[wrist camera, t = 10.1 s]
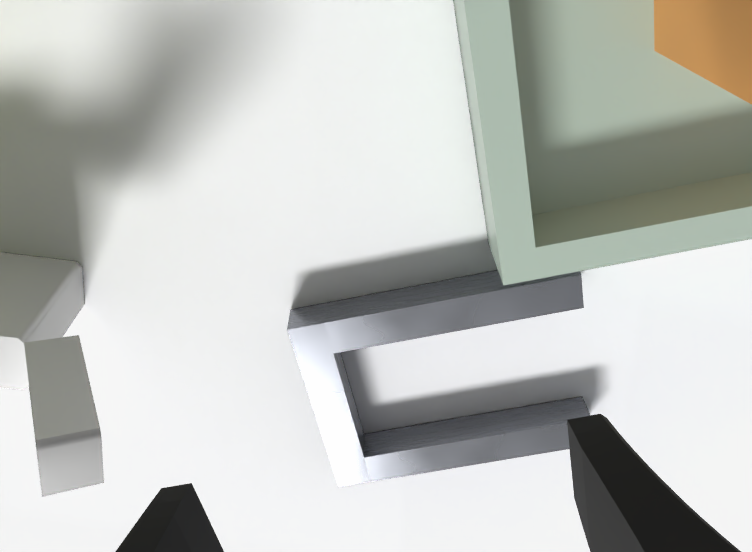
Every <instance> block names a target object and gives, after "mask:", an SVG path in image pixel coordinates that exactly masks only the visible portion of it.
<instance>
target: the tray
mask: <svg viewBox="0 0 752 552" xmlns="http://www.w3.org/2000/svg"><path fill="white" fill-rule="evenodd" d="M453 3H454V10H455V16H456V23H457V30H458V37H459V44H460V51H461V58H462V64H463V71H464V78H465V85H466V92H467V99H468V106H469V113H470V119H471V126H472V133H473V140H474V147H475V154H476V161H477V167H478V174H479V181H480V188H481V195H482V202H483V209H484V215H485V222H486V229H487V236H488V243H489V246H490V249H491V252H492V255H493V258H494V260H495V263H496V266H497V269H498V272H499V275H500V277H501V280H502V283H503V285H509V284H514V283H519V282H525V281H530V280H535V279H541V278H546V277H551V276H557V275H562V274H567V273H573V272H578V271H583V270H589V269H594V268H599V267H605V266H610V265H615V264H621V263H626V262H631V261H637V260H642V259H647V258H653V257H658V256H663V255H668V254H674V253H679V252H684V251H690V250H695V249H700V248H706V247H711V246H716V245H722V244H727V243H732V242H738V241H743V240H748V239H752V104H750V103H748V102H746V101H744V100H743V99H741V98H739V97H737V96H735V95H733V94H732V93H730V92H728V91H726V90H724V89H723V88H721V87H719V86H717V85H715V84H714V83H712V82H710V81H708V80H706V79H704V78H703V77H701V76H699V75H697V74H695V73H694V72H692V71H690V70H688V69H686V68H685V67H683V66H681V65H679V64H677V63H676V62H674V61H672V60H670V59H668V58H666V57H665V56H663V55H661V54H659V53H657V52H656V51H654V0H453Z"/></svg>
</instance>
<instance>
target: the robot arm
mask: <svg viewBox="0 0 752 552" xmlns="http://www.w3.org/2000/svg"><path fill="white" fill-rule="evenodd" d="M567 426H568V436H569V447H570V457H571V467H572V478H573V488H574V498H575V501H576V505H577V508H578V512H579V515H580V518H581V522H582V525H583V529H584V532H585V535H586V538H587V542H588V545H589V548H590V551H591V552H741V551H740V550H738V549H737V548H736V547H735V546H734V545H732V544H731V543H730V542H729V541H728V540H726V539H725V538H724V537H723V536H722V535H721V534H719V533H718V532H717V531H716V530H715V529H714V528H713V527H711V526H710V525H709V524H708V523H707V522H706V521H705V520H704V519H702V518H701V517H700V516H699V515H698V514H697V513H696V512H695V511H694V510H693V509H692V508H690V507H689V506H688V505H687V504H686V503H685V502H684V501H683V500H682V499H681V498H680V497H679V496H678V495H677V494H676V493H675V492H674V491H673V490H672V489H671V488H670V487H669V486H668V485H667V484H666V483H665V482H664V481H663V480H662V479H661V478H660V477H659V476H658V475H657V474H656V473H655V472H654V471H653V470H652V469H651V468H650V467H649V466H648V465H647V464H646V463H645V462H644V461H643V460H642V458H641V457H640V456H639V455H638V454H637V453H636V452H635V451H634V450H633V449H632V448H631V446H630V445H629V444H628V443H627V442H626V441H625V440H624V438H623V437H622V436H621V435H620V434H619V433H618V431H617V430H616V429H615V428H614V427H613V425H612V424H611V423H610V422H609V420H608V419H607V418H606V417H604V416H603V415H601V414H597V415H591V416H585V417H579V418H574V419H568V420H567ZM116 552H224V551H223V549H222V547H221V545H220V543H219V540H218V538H217V536H216V534H215V532H214V530H213V528H212V526H211V524H210V521H209V519H208V517H207V515H206V513H205V511H204V509H203V507H202V504H201V502H200V500H199V498H198V496H197V494H196V492H195V490H194V488H193V485H192V483H190V484H185V485H179V486H173V487H167V488H161V490H160V491H159V492H158V494H157V495H156V496H155V498H154V499H153V500H152V502H151V503H150V505H149V506H148V507H147V509H146V510H145V512H144V513H143V514H142V516H141V517H140V518H139V520H138V521H137V523H136V524H135V525H134V527H133V528H132V530H131V531H130V532H129V534H128V535H127V537H126V538H125V539H124V541H123V542H122V543H121V545H120V546H119V548H118V549H117V550H116Z"/></svg>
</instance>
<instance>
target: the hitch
mask: <svg viewBox="0 0 752 552" xmlns="http://www.w3.org/2000/svg"><path fill="white" fill-rule="evenodd" d="M580 308H584V306H583V293H582V279H581V274H580V272H579V271H578V272H573V273H567V274H562V275H557V276H551V277H546V278H541V279H535V280H530V281H525V282H519V283H514V284H509V285H503V283H502V280H501V277H500V275H499V272H498V270H497V271H492V272H486V273H481V274H476V275H471V276H465V277H460V278H455V279H450V280H444V281H439V282H434V283H428V284H423V285H418V286H413V287H407V288H402V289H397V290H392V291H386V292H381V293H376V294H370V295H365V296H360V297H355V298H349V299H344V300H339V301H334V302H328V303H323V304H318V305H313V306H307V307H302V308H297V309H291V310H290V316H289V322H288V328H287V331H288V334H289V337H290V340H291V343H292V346H293V349H294V352H295V355H296V358H297V362H298V365H299V368H300V371H301V374H302V377H303V380H304V383H305V386H306V389H307V392H308V395H309V398H310V401H311V404H312V407H313V410H314V413H315V416H316V419H317V422H318V425H319V428H320V431H321V435H322V438H323V441H324V444H325V447H326V450H327V453H328V456H329V459H330V462H331V465H332V468H333V471H334V474H335V477H336V480H337V483H338V486H339V487H342V486H348V485H354V484H360V483H366V482H373V481H379V480H385V479H391V478H397V477H403V476H409V475H415V474H421V473H427V472H433V471H439V470H445V469H451V468H457V467H463V466H469V465H475V464H481V463H487V462H493V461H499V460H505V459H511V458H517V457H523V456H529V455H535V454H541V453H547V452H553V451H559V450H565V449H570V447H569V436H568V426H567V420H568V419H574V418H579V417H585V416H590V414H589V411H588V409H587V407H586V405H585V402H584V400H583V398H582V397H577V398H572V399H566V400H560V401H554V402H548V403H542V404H537V405H531V406H525V407H519V408H513V409H508V410H502V411H496V412H490V413H484V414H479V415H473V416H467V417H461V418H455V419H450V420H444V421H438V422H432V423H426V424H421V425H415V426H409V427H403V428H397V429H391V430H386V431H380V432H374V433H368V434H364V433H363V429H362V426H361V422H360V419H359V415H358V412H357V408H356V405H355V402H354V398H353V395H352V391H351V388H350V384H349V381H348V377H347V374H346V370H345V367H344V363H343V360H342V357H341V353H340V352H345V351H350V350H356V349H361V348H367V347H372V346H378V345H383V344H389V343H394V342H399V341H405V340H410V339H416V338H421V337H427V336H432V335H438V334H443V333H449V332H454V331H460V330H465V329H470V328H476V327H481V326H487V325H492V324H498V323H503V322H509V321H514V320H520V319H525V318H531V317H536V316H541V315H547V314H552V313H558V312H563V311H569V310H574V309H580Z"/></svg>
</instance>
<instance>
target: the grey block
mask: <svg viewBox="0 0 752 552" xmlns="http://www.w3.org/2000/svg"><path fill="white" fill-rule="evenodd" d="M84 304H85V302H84V285H83V269H82V266H81V265H80V264H79V263H78V262H77V261H70V260H61V259H53V258H45V257H36V256H28V255H20V254H11V253H3V252H0V388H8V389H17V390H25V389H26V388H27V387H29V391H30V399H31V407H32V416H33V424H34V432H35V441H36V449H37V457H38V466H39V474H40V483H41V491H42V497H43V496H47V495H52V494H56V493H60V492H65V491H69V490H74V489H78V488H82V487H87V486H91V485H96V484H100V483H104V478H103V459H102V441H101V432H100V426H99V422H98V417H97V413H96V408H95V404H94V400H93V395H92V391H91V387H90V382H89V378H88V373H87V369H86V365H85V360H84V356H83V352H82V347H81V343H80V338H79V335H77V336H69V337H63V335H64V334H65V332H66V331H67V329H68V328H69V326H70V325H71V323H72V322H73V320H74V319H75V317H76V316H77V314H78V313H79V311H80V310H81V308H82V307H83V305H84Z"/></svg>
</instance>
